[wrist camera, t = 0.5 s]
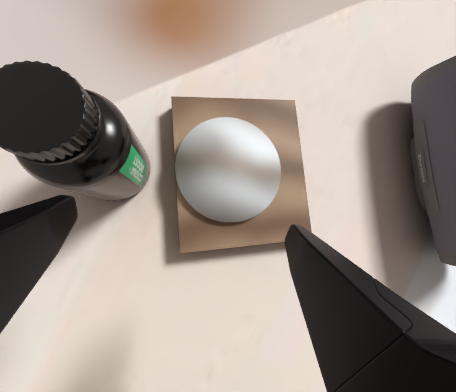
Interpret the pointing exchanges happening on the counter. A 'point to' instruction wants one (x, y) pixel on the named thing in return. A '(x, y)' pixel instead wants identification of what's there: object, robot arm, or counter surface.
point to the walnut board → (237, 172)
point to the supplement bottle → (68, 133)
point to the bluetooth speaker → (436, 152)
